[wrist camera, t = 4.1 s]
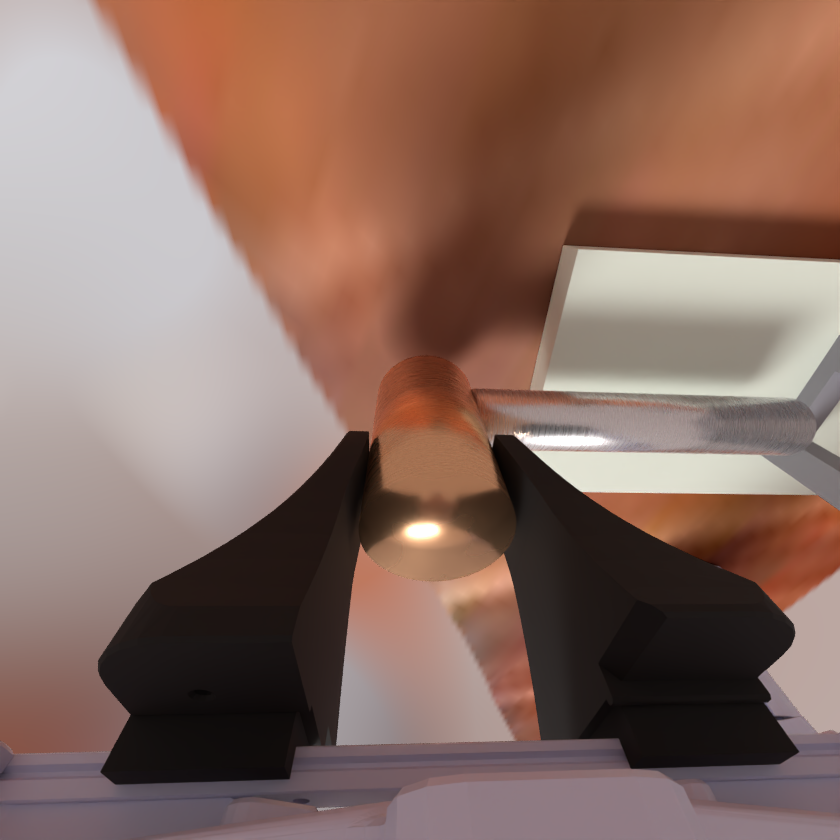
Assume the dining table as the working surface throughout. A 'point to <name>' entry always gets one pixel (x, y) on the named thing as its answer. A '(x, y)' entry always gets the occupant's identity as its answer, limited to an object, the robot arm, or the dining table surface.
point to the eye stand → (697, 358)
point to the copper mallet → (540, 431)
